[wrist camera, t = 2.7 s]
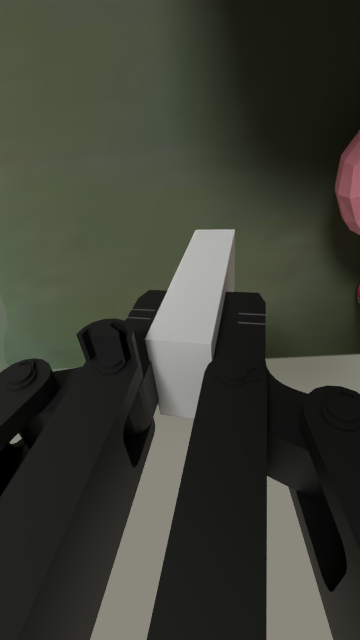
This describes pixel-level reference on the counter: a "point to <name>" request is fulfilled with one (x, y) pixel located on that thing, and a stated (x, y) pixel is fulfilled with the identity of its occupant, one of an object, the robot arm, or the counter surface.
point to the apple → (349, 185)
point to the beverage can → (358, 293)
